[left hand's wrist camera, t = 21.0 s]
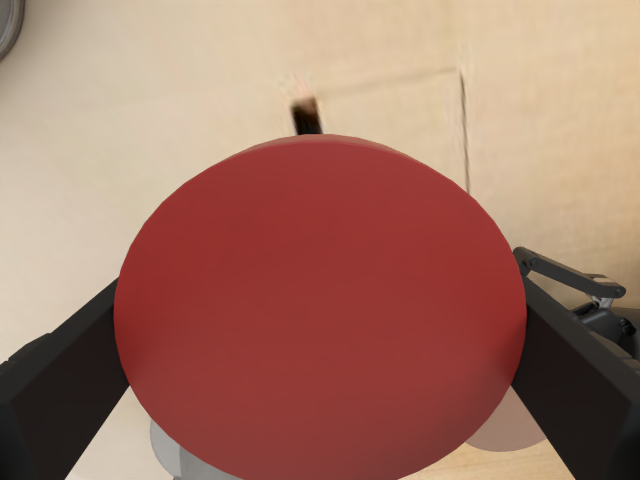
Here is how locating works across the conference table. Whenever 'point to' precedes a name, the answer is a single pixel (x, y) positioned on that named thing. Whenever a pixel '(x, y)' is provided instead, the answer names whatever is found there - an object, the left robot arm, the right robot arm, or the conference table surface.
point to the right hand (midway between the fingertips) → (420, 326)
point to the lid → (320, 313)
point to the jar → (508, 427)
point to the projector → (182, 459)
